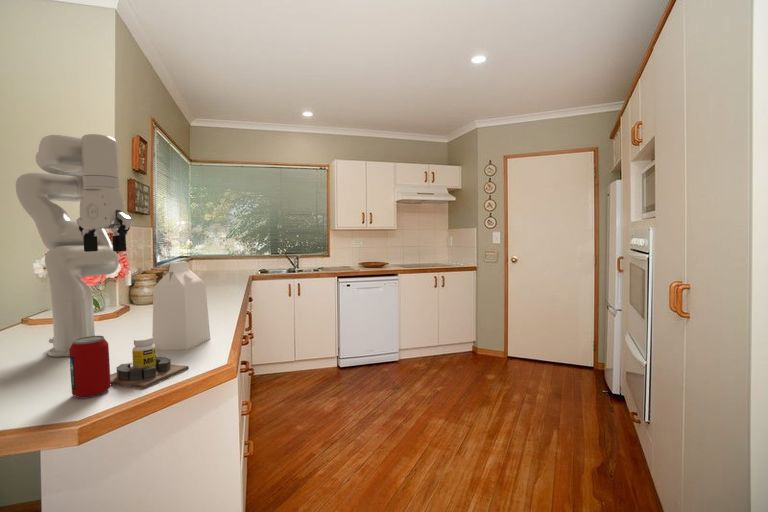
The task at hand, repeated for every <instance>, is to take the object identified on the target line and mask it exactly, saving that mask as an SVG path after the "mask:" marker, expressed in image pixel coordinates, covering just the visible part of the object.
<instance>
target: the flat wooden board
mask: <svg viewBox="0 0 768 512" xmlns="http://www.w3.org/2000/svg"><path fill="white" fill-rule="evenodd" d="M189 367H190V366H189V365H183V364H172V363H171V359H170V358H169V357H167V356H157V355H156V367H154V366H150V367H145V368H136V369H133V365H131V363H130V362H129V363H120V364H119V365H117V367H116V372H113V373H110V384H111V385H112V386H117V385H119V386H118V387H125V386H127V387H128V388H133V387H135V388H136V389H147V388H149V387H151V386H153V385H156V384H159V383H160V381H161V382H162V381H165V380H167V379H169V377H170V378H171V376H172V377H174V376H176V375H178V373H179V374H181V373H183V372H185V371H188V370H189ZM135 388H134V389H135Z"/></svg>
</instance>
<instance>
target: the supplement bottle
mask: <svg viewBox="0 0 768 512" xmlns="http://www.w3.org/2000/svg"><path fill="white" fill-rule="evenodd" d="M152 343H153V337H152V336H149V335H148V336H141V337H136V338H134V339H133V346H134V347H132V353H131V354H132V366H133V369H136V368H145V367H150V366H154V367H156V356H157V355H156V349H155V345H154V344H152Z"/></svg>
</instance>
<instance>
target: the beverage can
mask: <svg viewBox="0 0 768 512" xmlns="http://www.w3.org/2000/svg"><path fill="white" fill-rule="evenodd" d="M109 347H110V346H109V343H108V341H107V340H106V338H105V336H104V335H95V336H88V337H83V338H79V339H75V340H74V341H73V344H72V345H71V347H70V349H69V355H70V356H69V370H70V383H71V384H70V385H71V386H70V387H71V394H72V396H74V397H78V398H79V399H81V398H82V399H84V398H85V399H86V398H87V399H88V398H92V397H96V396H99V395H102V394H104V393H105V392H107V391H108V389H110V388H111V385H110V374H111V365H110V364H111V363H110V349H109Z"/></svg>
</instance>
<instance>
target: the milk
mask: <svg viewBox="0 0 768 512" xmlns="http://www.w3.org/2000/svg"><path fill="white" fill-rule="evenodd" d="M152 294H153V295H152V332H151V333H152V336H151V337H153V343H152V344H154V345H155V350H177V349H188V350H190V349H192V348H194V347H196V346H199V345H200V343H201V344H202V342H203V343H205V342H207V341H209V340H211V331H210V320H209V308H208V298H207V285H206V283H205V282H204V281H203V280H202V279H201V278H200V277H199V276H198V275H197V274H196V273H195V272H194V271H192V270H191V269H190V266H189V263H188V261H175V262H170V264H169V270H168V272H167V273H166V274H165V275H164V276H163V277H162V278H161V279H160V280H159V281H158V282H157V283H156V284H155V286H154V288H153V293H152ZM208 339H209V340H208ZM206 340H207V341H206ZM204 341H205V342H204ZM189 348H190V349H189Z"/></svg>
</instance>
